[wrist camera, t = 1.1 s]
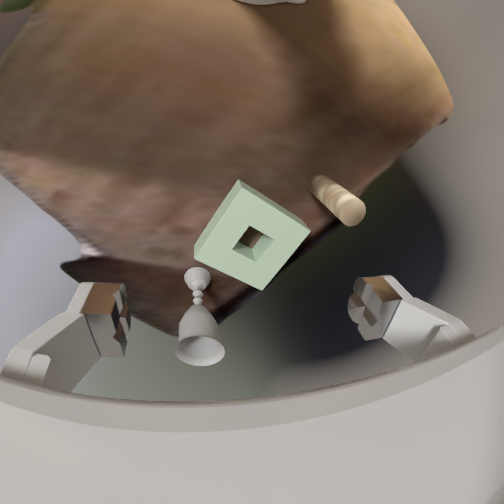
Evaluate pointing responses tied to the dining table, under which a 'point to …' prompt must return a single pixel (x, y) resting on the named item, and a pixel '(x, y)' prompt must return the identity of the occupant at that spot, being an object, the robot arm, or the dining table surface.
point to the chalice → (198, 326)
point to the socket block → (233, 227)
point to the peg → (337, 199)
